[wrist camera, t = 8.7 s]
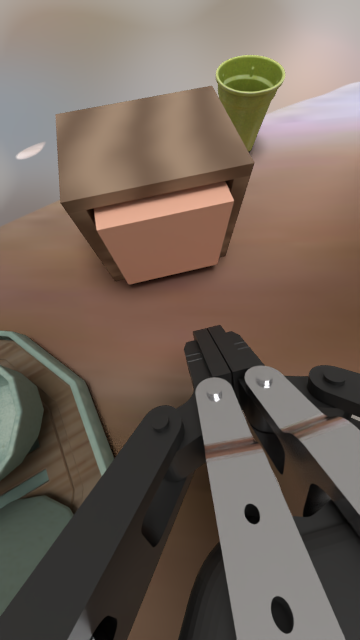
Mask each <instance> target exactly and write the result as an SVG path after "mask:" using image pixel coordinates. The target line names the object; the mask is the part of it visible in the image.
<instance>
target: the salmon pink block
mask: <svg viewBox="0 0 360 640" xmlns="http://www.w3.org/2000/svg"><path fill="white" fill-rule="evenodd" d="M233 204H234V199H233V197H232V195H231V193H230V191H229V188H228V186H227V184H226V182H225V181H222V182H217V183H212V184H208V185H203V186H198V187H193V188H188V189H184V190H179V191H174V192H169V193H164V194H160V195H155V196H150V197H145V198H141V199H136V200H131V201H126V202H121V203H117V204H112V205H107V206H102V207H97V208H94V214H95V222H96V229H97V232H98V234H99V235H100V237H101V239H102V240H103V242H104V244H105V245H106V247H107V249H108V251H109V252H110V254H111V256H112V257H113V259H114V261H115V262H116V264H117V266H118V268H119V269H120V271H121V273H122V274H123V276H124V278H125V279H126V281H127V283H128V284H134V283H138V282H142V281H147V280H151V279H155V278H160V277H164V276H168V275H173V274H177V273H181V272H186V271H190V270H195V269H199V268H203V267H208V266H212V265H216V264H218V260H219V256H220V252H221V249H222V245H223V241H224V237H225V234H226V230H227V226H228V222H229V219H230V215H231V211H232V207H233Z"/></svg>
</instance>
